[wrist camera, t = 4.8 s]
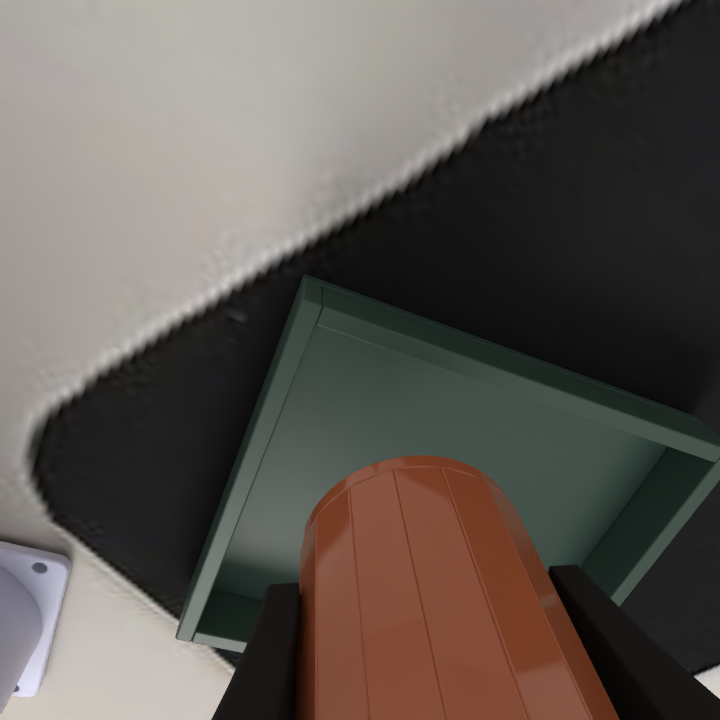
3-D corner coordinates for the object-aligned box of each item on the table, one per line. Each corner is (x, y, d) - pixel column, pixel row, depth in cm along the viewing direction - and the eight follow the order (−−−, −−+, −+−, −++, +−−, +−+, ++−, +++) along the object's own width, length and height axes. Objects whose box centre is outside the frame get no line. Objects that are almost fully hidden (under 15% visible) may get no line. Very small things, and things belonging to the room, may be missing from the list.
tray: (188, 584, 22) (174, 639, 20) (303, 272, 17) (302, 298, 15) (516, 657, 25) (536, 712, 23) (693, 415, 20) (741, 454, 18)
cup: (272, 596, 14) (242, 946, 8) (349, 426, 12) (380, 728, 6) (459, 638, 15) (548, 970, 9) (556, 489, 13) (745, 793, 7)
